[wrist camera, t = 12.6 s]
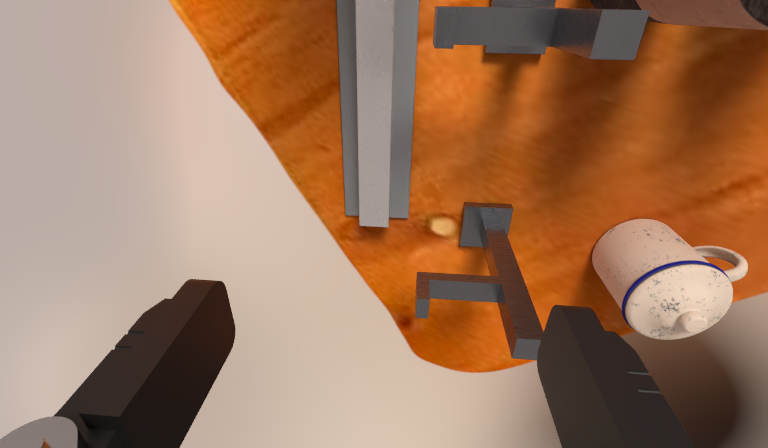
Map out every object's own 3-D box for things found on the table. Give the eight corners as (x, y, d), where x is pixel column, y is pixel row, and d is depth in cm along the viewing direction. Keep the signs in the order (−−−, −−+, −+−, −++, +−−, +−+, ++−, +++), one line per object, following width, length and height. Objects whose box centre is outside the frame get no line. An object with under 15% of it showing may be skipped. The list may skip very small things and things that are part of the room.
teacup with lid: (594, 290, 46) (643, 371, 36) (582, 229, 42) (633, 300, 32) (707, 263, 43) (795, 343, 33) (706, 195, 39) (805, 261, 29)
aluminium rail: (360, -53, 31) (354, -59, 28) (397, -53, 30) (395, -58, 28) (363, 212, 43) (359, 225, 40) (390, 213, 42) (388, 227, 40)
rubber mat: (335, -60, 31) (333, -61, 30) (422, -60, 31) (422, -61, 30) (346, 212, 43) (345, 215, 43) (408, 215, 43) (408, 218, 42)
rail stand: (432, -16, 32) (444, -34, 16) (554, -14, 31) (688, -32, 16) (415, 238, 44) (413, 365, 29) (503, 243, 44) (549, 375, 28)
